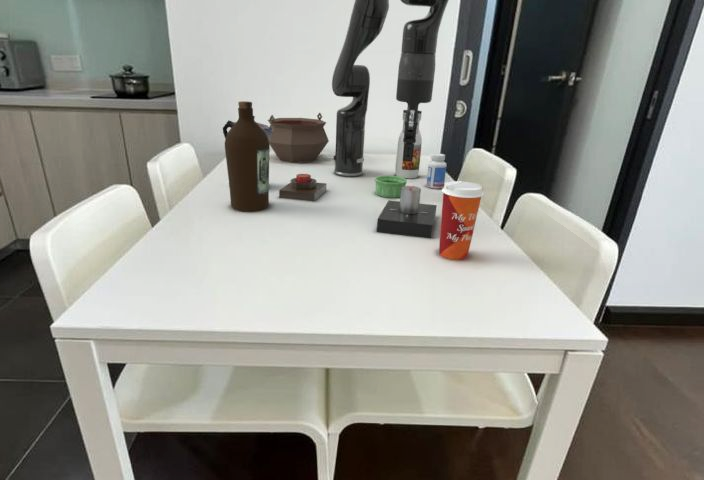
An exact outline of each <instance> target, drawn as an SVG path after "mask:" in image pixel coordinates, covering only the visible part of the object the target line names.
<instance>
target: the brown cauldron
mask: <svg viewBox="0 0 704 480" xmlns="http://www.w3.org/2000/svg"><path fill="white" fill-rule="evenodd" d="M316 117H317V118H309V117H277V118H275V117H274V115H273V114H271V115H270V117H269V119H267V122H268V123H269V124H270V125H269V127H270V128H272V129H273V130H274V132H272V134H271V136H270V138H269V146H270V148H271V149H272V151H273V152H274V154H275V155H276V157H277V158H278V159H279V161H281V162H286V163H294V164H295V163H296V164H297V163H298V164H299V163H310V162H313V161H316V160H317V159H318V158H319V156H320V154H321V153H322V152H323V151H324V149H325V147H326V146H327V145H328V143H330V140H329V138H328V135H327V133H326V130H325V126H326V124H327V122H326V121H324V120H322V118H323V115H322V113H321V112H318V114H317V115H316Z"/></svg>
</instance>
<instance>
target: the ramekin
mask: <svg viewBox="0 0 704 480" xmlns="http://www.w3.org/2000/svg"><path fill="white" fill-rule="evenodd" d="M374 182H375V194H376V196H379V197H381V198H388V199H389V198H390V199H395V198H396V199H397V198H401V188H402V187H403V186H407V185H406V184H407V183H408V180H407V178H402V177H397V176H396V175H379V176H376V177H375V178H374Z"/></svg>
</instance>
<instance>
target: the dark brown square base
mask: <svg viewBox="0 0 704 480" xmlns="http://www.w3.org/2000/svg"><path fill="white" fill-rule="evenodd" d="M325 192H327V183H326V182H317V179H315V178H313V177H311V182H297V181H296V177H293V178H291V179H290V182H289V183H288V184H286V185H284V186H283V187H282V188H280V189H278V198H279V199H285V200H294V201H305V202H316V201H317V200H318V199H319V198H320V197H321V196H322V195H324V194H325Z"/></svg>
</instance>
